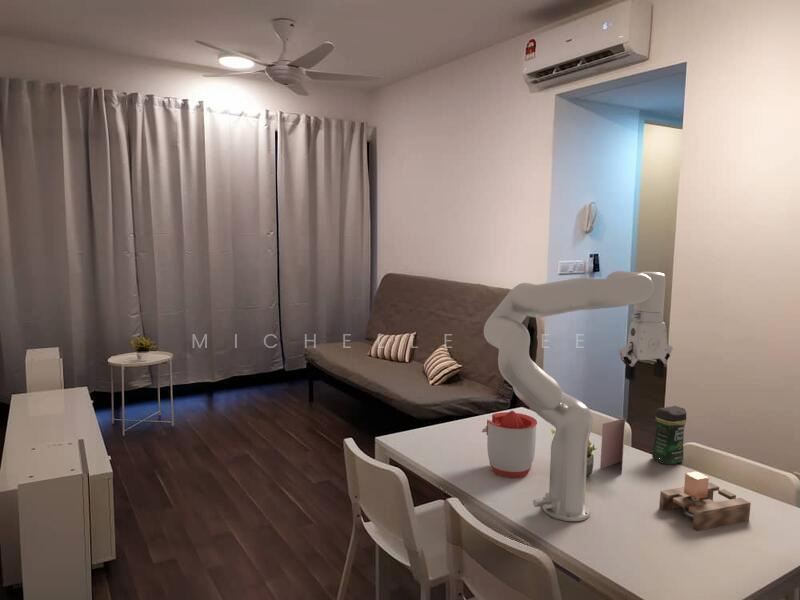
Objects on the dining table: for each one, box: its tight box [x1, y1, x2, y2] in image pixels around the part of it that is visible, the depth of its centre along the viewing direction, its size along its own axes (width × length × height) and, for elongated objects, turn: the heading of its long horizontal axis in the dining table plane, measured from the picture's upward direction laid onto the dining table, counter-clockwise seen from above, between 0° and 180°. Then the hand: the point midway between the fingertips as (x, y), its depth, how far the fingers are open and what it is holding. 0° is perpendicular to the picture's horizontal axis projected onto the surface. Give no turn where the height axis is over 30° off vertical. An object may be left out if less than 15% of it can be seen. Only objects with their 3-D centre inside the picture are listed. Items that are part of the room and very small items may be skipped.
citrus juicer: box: [481, 410, 538, 479], centre depth 186 cm, size 16×17×20 cm
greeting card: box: [599, 417, 626, 475], centre depth 190 cm, size 11×7×15 cm, turn 122°
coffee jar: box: [651, 405, 688, 465], centre depth 196 cm, size 10×8×19 cm
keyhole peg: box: [683, 471, 710, 521], centre depth 158 cm, size 5×5×12 cm
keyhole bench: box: [658, 482, 752, 531], centre depth 159 cm, size 18×13×5 cm
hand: (644, 378), depth 162 cm, fingers open, 9 cm apart
